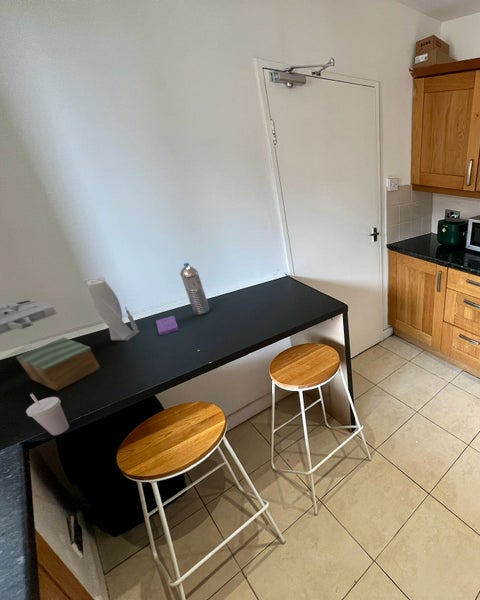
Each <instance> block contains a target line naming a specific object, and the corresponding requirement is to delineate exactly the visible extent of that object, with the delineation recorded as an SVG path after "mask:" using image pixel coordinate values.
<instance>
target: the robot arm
mask: <svg viewBox="0 0 480 600" xmlns="http://www.w3.org/2000/svg"><path fill="white" fill-rule="evenodd" d="M56 314H58V312H57V309H56V308H55V306H54V305H53V304H51V303H47V302H44V301H37V300H35V299H29V300H23V301H19V302H12V303H11V302H10V303H6V304H0V335H2V334H5V333H8V332H11V331H14V330H24V329H27V328H29V327H31V326H34V323H35V322H39V321H41V320H45V319H46V318H50V317H52V316H55V315H56Z"/></svg>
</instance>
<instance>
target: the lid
mask: <svg viewBox="0 0 480 600" xmlns="http://www.w3.org/2000/svg"><path fill="white" fill-rule="evenodd" d="M90 349H91V350H92V347H90V346H89V345H87V344H86V345H85V344H82V343H80V342H77V341H76V340H75V341H74V340H72V339H70V338H66V337H61V338H58V339H56V340H54V341H51V342H49V343H47V344H44V345H41V346H39V347H37V348H34V349H31V350H29V351H27V352H25V353H22V354H20V355H18V356H16V359H17V360H18V359H19V360H21V361H23V362H26V363H28V364H30V365H32V366H35V367H37V368H39V369H42V370H44V371H45V370H47V369H49V368H51V367H53V366H56V365H58V364H60V363H62V362H64V361H66V360H68V359H71V358H73V357H75V356H77V355H79V354H81V353H84V352H86V351H88V350H90Z"/></svg>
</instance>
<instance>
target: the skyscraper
mask: <svg viewBox="0 0 480 600" xmlns="http://www.w3.org/2000/svg"><path fill="white" fill-rule="evenodd" d="M82 283H83V284H85V285H86V287H87V290H88V294H89V299H90V300H91V303H92V305H93V308H94V309H95V311H96V313H97V314H98V315H99V317H100V318H101V320H102V321H103V322H104V323H105V324H106V325H107V326H108V332H109V336H110V340H111V342H112V341H113V342H116V341H117V342H118V341H120V342H121V341H125V342H126V341H128V342H129V341H130V340H132V339H133V338H134V337H135V336H137V335H139V334H140V333H141V330H139V327H138V325H137V323H136V322H135V319H134V318H133V317H134V316H133V315H132V314H130V311H129V310H128V308H127V306H124V309H125V312H126V314H127V316H126V317H127V319H128V321H129V323H130V326H131V328H132V329H131V328H130V327H129V326H128V325H127V324H126V323H125V322H124V321H123V311H122V307H121V303H120V300H119V298H118V296H117V294H116V293H115V291H114V290H113V289H112V288H111V286H110V285H109V284H108V283H107V281H106V280H105V277H104V276H98V277H97V276H96V277H90V278H85V279H83V280H82Z"/></svg>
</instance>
